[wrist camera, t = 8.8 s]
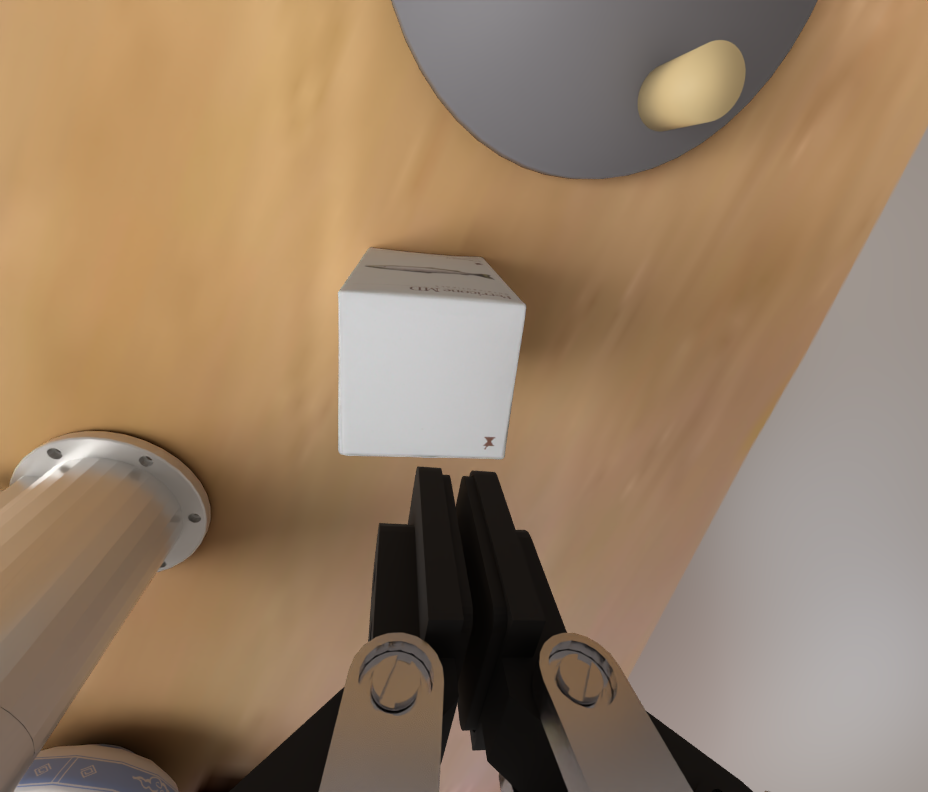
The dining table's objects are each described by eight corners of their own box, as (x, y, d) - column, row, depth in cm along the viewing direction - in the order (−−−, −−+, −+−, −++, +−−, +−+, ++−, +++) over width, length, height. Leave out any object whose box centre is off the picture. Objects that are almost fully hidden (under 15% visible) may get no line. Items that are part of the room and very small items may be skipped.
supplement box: (485, 254, 28) (536, 303, 17) (471, 363, 31) (506, 466, 20) (366, 242, 27) (334, 285, 15) (364, 356, 30) (337, 461, 19)
